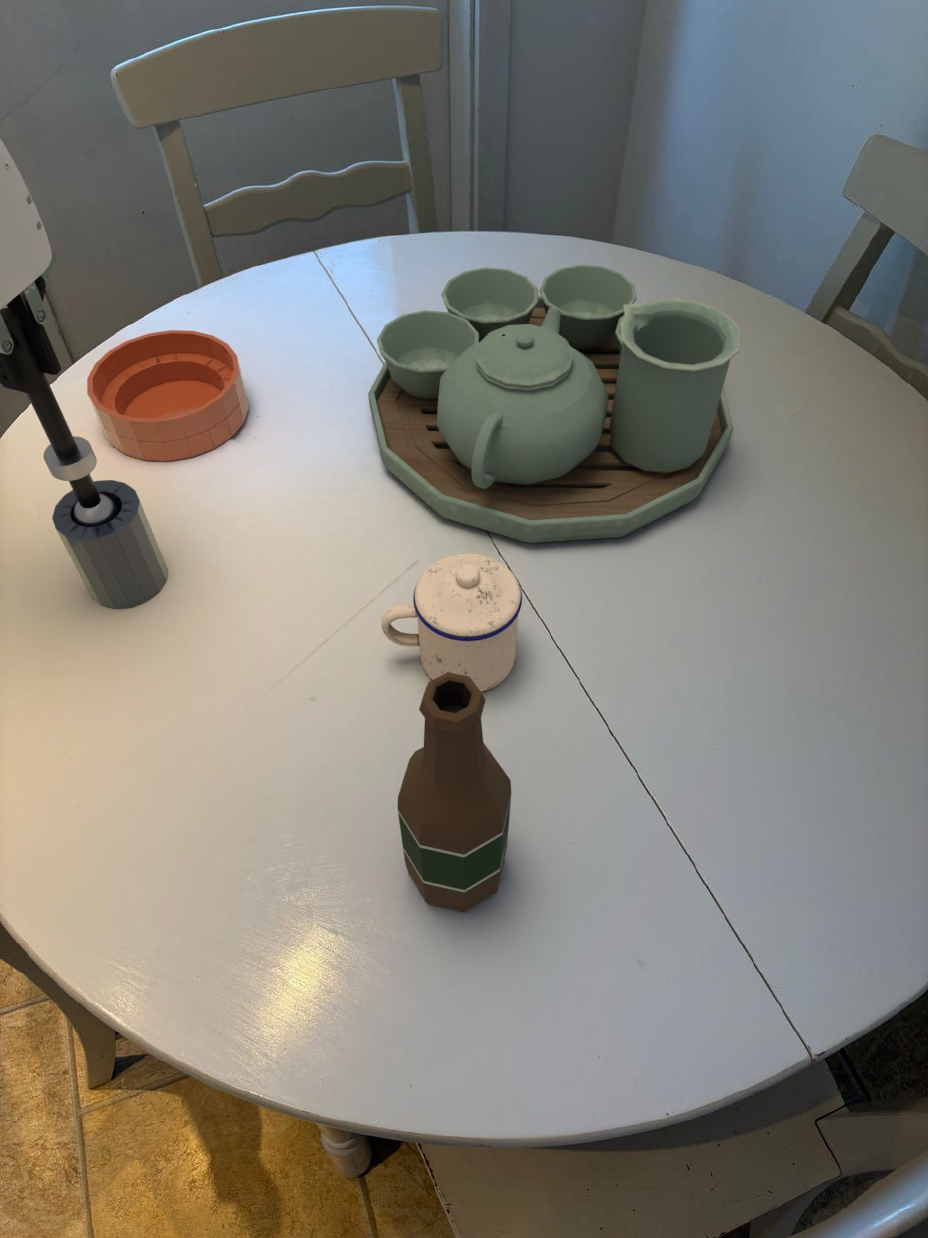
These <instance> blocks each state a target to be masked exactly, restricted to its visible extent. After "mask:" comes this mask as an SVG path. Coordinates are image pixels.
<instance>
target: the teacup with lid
mask: <svg viewBox="0 0 928 1238" xmlns="http://www.w3.org/2000/svg"><path fill="white" fill-rule="evenodd" d="M412 599H413V601H412V602H413V603H406V604H397V605H395V606H392V607H390V608H387V610H385V611H384V613H383V614H382V616H381V622H380V623H381V624H380V625H381V631H382V633H383V634H384V636H385V637H386V638H387V639H388V640H389V641H391V642H392V643H394V644H396V645H398V646H402V647H409V648H410V647H412V648H413V647H414V648H415V647H417V648H419V655H420V662H421V666H422V668H423V670H424V672H425V674H426V675H427V676H428V677H429V679H431V681H432V680H434V679H436V678H438V677H440V676H442V675H443V674H445V673H447V672H449V673H454V674H459V675H464V676H469V677H470V678H471V679H472V680H473V682H474V683H475V684H476V686H477V687H478V688H479V690H480V691H481V692H485V691H488V690H491V689H493V688H495V687H496V686H498V685H499V684H501V683H502V682H503V681H504V680H505V679H506V678H507V677H508V676H509V674H511V671H512V670H513V667H514V664H515V661H516V653H517V651H516V650H517V635H518V625H519V614H520V612H521V608H522V604H523V592H522V588H521V586H520V583H519V580H518V579H517V577H516V575H515V574H514V572H513V571H512V570H511V569H509V568H508V567H507V566H506V565H505V564H503V563H502V562H500V560H497V559H495V558H493V557H491V556H488V555H484V554H480V553H457V554H451V555H449V556H445V557H442V558H441V559H439V560H436V561H435V562H433V563H432V564H430V565H429V566H428V567H427V568H426V569H425V570H424V571H423V572H422V574H421V575H420V577H419V578H418V580H417V582H416V585H415V587H414V590H413V595H412ZM410 618H411V619H415V618H416V619H417V628H418V633H409V632H408V633H407V632H402V631H401V630H400V631H399V630H397V629H396V628H395V627H393V625H392V623H393V622H395V621H397V620H401V619H410Z"/></svg>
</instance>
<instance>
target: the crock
mask: <svg viewBox="0 0 928 1238" xmlns="http://www.w3.org/2000/svg"><path fill="white" fill-rule="evenodd" d="M93 482H94V484H95V486H96V489H97V491H98V493H99V494H103V495H106V496H108V497H109V498H111V499H112V500H113V501H114V502H115V503H116V505H117V507H118V509H119V514H118V515H117V517H116V518H114V519H113V520H112V521H110V522H109V523H107V524H104V525H101V526H98V527H84V526H79V525H77V524H76V523H75V520H74V507H75V505H76V503H77V502H78V499H77V497H76V495H75V493H74V491H73V489H71V490H70V491H68V492H67V493H65V494H64V495H63V496H62V497H61V499H60V500H59V501H58V502H57V503H56V505H55V506H54V510H53V514H52V517H51V519H52V522H53V525H54V528H55V530H56V532H57V534H58V536H59V538H60V540H61V541H62V543H63V546H64V547H65V549H66V551H67V554H68V555H69V557H70V559H71V561H72V562H73V564H74V566H75V568H76V570H77V572H78V574H79V577H80V578H81V580H82V582H83V583H84V586H85V588H86V589H87V591H88V593H89V595H90V597H91V598H92V600H94V601H95V602H96V603H98V604H99V605H100V606H103V607H106V608H109V609H115V610H124V609H125V610H126V609H131V608H134V607H138V606H141V605H143V604H145V603H148V602H149V601H151V600H152V599H154V597H156V596H157V595H158V594H159V593H160V592H161V590H163V588H164V587H165V585H166V582H167V579H168V571H169V570H168V566H167V564H166V561H165V559H164V557H163V554H162V552H161V549H160V547H159V544H158V542H157V539H156V537H155V535H154V532H153V530H152V527H151V524H150V522H149V520H148V517H147V514H146V513H145V510H144V507H143V505H142V502H141V500H140V497H139V495H138V493H137V491H136V490H135V489H134V488H133V487H132V486H130V485H129V484H127V483H126V482H123V481H118V480H114V479H106V480H105V479H104V480H95V481H94V480H93Z"/></svg>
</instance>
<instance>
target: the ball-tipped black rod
mask: <svg viewBox="0 0 928 1238" xmlns="http://www.w3.org/2000/svg"><path fill="white" fill-rule="evenodd" d="M0 314H1V316H2V318H3V321H4V323H5V325H6V327H7V329H8V331H9V334H10V336H11V338H12V340H13V343H14V344H15V345H19V346H21V347H23V348H24V350H25V352H26V355H27V357H28V359H29V361H30V364H31V366H32V368H33V370H34V372H35V375H36V377H37V379H38V381H39V384H40V386H41V390H40V391H39V392H38V393H37V394H36V395H32V394H28V393H25V394H26V396H27V398H28V400H29V402H30V404H31V406H32V409H33V410H34V412H35V414H36V416H37V419H38V420H39V423H40V425H41V427H42V429H43V431H44V433H45V435H46V437H47V439H48V441H49V443H50V444H48V445H47V447H45V450H44V451H43V455H42V456H43V457H42V458H43V460H44V463H45V464H46V466H47V469H48V471H49V472H50V475H51V476H52V477H53V478H54V479H57V480H59V481H63V482H69V485H70V487H71V490H73V491H74V493H75V495H76V497H77V499H78V502H77V503H76V505H75V507H74V520H75V523H76V524H77V525H79V526H84V527H98V526H101V525H104V524H107V523H109V522H110V521H112V520H113V519H114V518H116V517H117V515H118V514H119V509H118V507H117V505H116V503H115V502H114V501H113V500H112V499H111V498H109V497H108V496H106V495H103V494H99V493H98V491H97V489H96V486H95V484H94V482H95V481H94V480H93V477H92V475H91V473H92V472H93V471H94V470H95V469H96V466H97V463H98V460H97V459H98V458H97V457H96V454H95V452H94V449H93V448H92V445H91V443H90V441H88V440H87V439H86V438H85V437H81V436H77V435H76V436H74V435H73V433H72V431H71V429H70V427H69V425H68V422H67V420H66V417H65V416H64V414H63V412H62V410H61V407H60V405H59V403H58V401H57V398H56V396H55V394H54V392H53V389H52V387H51V385H50V382H49V380H48V378H47V377H46V373H44V372H43V369H42V367H41V365H40V363H39V361H38V358H37V356H36V354H35V352H34V350H33V347H32V345H31V343H30V341H29V339H28V336H27V334H26V332H25V330H24V328H23V325H22V323H21V321H20V319H19V316H18V314H17V312H16V311H15V310H14V309H12V308H2V309H0ZM93 481H94V482H93Z"/></svg>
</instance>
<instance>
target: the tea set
mask: <svg viewBox="0 0 928 1238" xmlns="http://www.w3.org/2000/svg"><path fill="white" fill-rule="evenodd" d="M441 298H442V301H443V304H444V306H445V308H446V310H447V311H437V310H428V309H427V310H426V309H425V310H419V311H415V312H414V311H413V312H410V313H405V314H401V315H400V316H398V317H396V318H395V319H393V320H391V321H389V322H388V323H386V324H384V326H383V328H382V330H381V332H380V333H379V334H378V337H377V339H376V342H377V347H378V349H379V350H378V351H379V353H380V356H381V357H382V359H383V360H384V363H383V365H382V367H381V369H380V371H379V373H378V374H377V376H376V377H375V380H374V381H373V383H372V385H371V387H370V389H369V391H368V394H367V397H368V405H369V411H370V415H371V418H372V423H373V427H374V431H375V436H376V440H377V444H378V449H379V452H380V458H381V461H382V463H383V465H384V467H385V468H386V469H387V470H388V471H389V472H390V473H391V474H392V475H394V476H395V477H396V478H397V479H398V480H399V481H400V482H401V483H403V484H404V485H405V486H406V487H407V488H409V489H410V491H412V492H413V493H414V495H416V496H418V497H419V498H420V499H421V500H422V501H423V502H424V503H425V504H427V505H428V506H429V507H430V508H431V509H432V510H434V511H435V512H436V513H437V514H438V515H439V516H440V517H441V518H443V519H446V520H451V521H453V522H457V523H461V524H464V525H467V526H470V527H474V528H477V529H481V530H484V531H487V532H490V533H494V534H497V535H499V536H500V535H501V536H503V537H508V538H511V539H514V540H517V541H520V542H524V543H528V544H534V543H535V544H537V543H550V542H563V541H578V540H593V539H608V538H609V539H610V538H621V537H624V536H627V535H628V534H630V533H632V532H634V531H636V530H638V529H640V528H642V527H644V526H646V525H648V524H650V523H652V522H654V521H656V520H659V518H663V516H665V515H667V514H670V513H671V512H673V511H676V510H677V509H679V508H681V507H683V506H685V505H687V504H690V503H691V502H693V501H694V500H695V499H697V497H698V496H700V493H701V492H702V490H703V488H704V487H705V485H706V483H707V481H708V480H709V478H710V477H711V475H712V473H713V471H714V469H715V468H716V465H717V464H718V462H719V460H720V459H721V457H722V455H723V454H724V453H725V450H726V449H727V446H728V445H729V443H730V441H731V438H732V435H733V433H734V432H733V431H734V425H733V420H732V417H731V412H730V408H729V403H728V399H727V395H726V391H725V386H724V385H725V381H726V377H727V374H728V370H729V366H730V364H731V363H730V362H731V360H732V359H733V357H735V356H736V355H737V354H739V353H740V351H741V345H742V339H743V333H742V332H741V330H740V329H739V327H738V325H737V324H736V323H735V321H734V320H733V318H732V316H730V315H728V314H726V313H724V312H723V311H721V310H720V309H718V308H716V307H714V306H712V305H710V304H708V303H705V302H699V301H695V300H690V299H686V298H682V297H681V298H680V297H679V298H661V299H652V300H650V301H647V302H644V303H635V302H636V301H638V299H637V298H638V297H637V291H636V286H635V284H634V283H633V282H632V281H631V280H629V278H627V277H626V276H625V275H624V274H623V273H621V272H619V271H616V270H613V269H611V268H609V267H605V266H603V265H590V264H576V265H572V266H567V267H560V268H558V269H556V270H555V271H553V272H552V273H550V274H548V275H547V276H545V277H544V278H543V281H542V283H541V285H540V288H539V289H538V287H537V286H536V285H535V283H533V282H532V281H531V280H530V279H529V277H527V276H526V275H523V274H521V273H518V272H516V271H513V270H511V269H508V268H498V267H497V268H495V267H480V268H476V269H469V270H465V271H462V272H461V273H459V274H457V275H456V276H454V277H452V278H450V279H448V280H447V283H446V284H445V286H444V288H443V290H442V292H441Z"/></svg>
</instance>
